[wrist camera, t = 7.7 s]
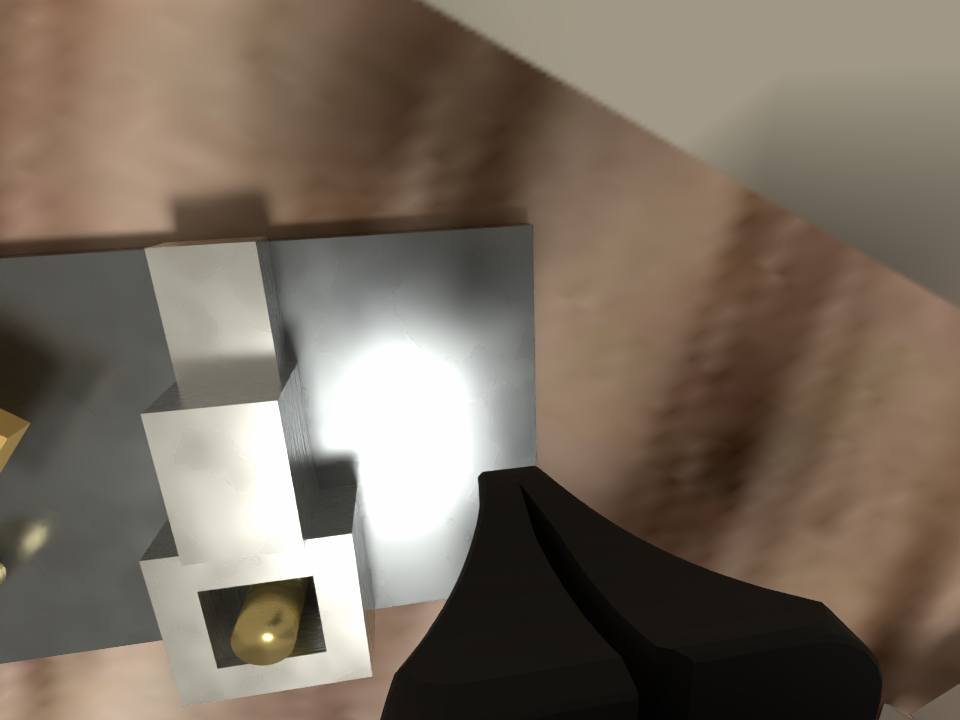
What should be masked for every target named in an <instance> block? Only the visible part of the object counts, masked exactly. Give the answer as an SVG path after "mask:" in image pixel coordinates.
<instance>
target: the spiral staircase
mask: <svg viewBox="0 0 960 720" xmlns="http://www.w3.org/2000/svg"><path fill="white" fill-rule="evenodd" d="M910 715H911V716H912V718H913V719H914V720H960V684H958V685H957V686H955V687H953V688H952V689H950V690H949V691H947V692H945V693H944V694H942V695H941V696H939V697H937V698H936V699H934V700H933V701H931V702H929V703H928V704H926V705H925V706H923V707H922V708H920V709H918V710H917V711H915V712H914V713H912V714H910ZM879 720H912V719H911V718H909V717H908V716H906V715H905V714H903V713H902V712H901V711H899V710H898V709H896V708H895V707H893V706H892V705H889V704H884V705H883V709H882V712H881V715H880V718H879Z"/></svg>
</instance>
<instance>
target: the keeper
mask: <svg viewBox="0 0 960 720" xmlns="http://www.w3.org/2000/svg"><path fill="white" fill-rule="evenodd" d="M29 425H30V422H28V421H25V420H23V419H21V418H19V417H17V416H15V415H13V414H11V413H9V412H7V411H5V410H3V409H1V408H0V473H1V471H2V469H3V468H4V466H5V464H6V463H7V461H8V459H9V458H10V456H11V454H12V453H13V451H14V449H15V448H16V446H17V445H18V443H19V441H20V440H21V438H22V436H23V435H24V433H25V431H26V430H27V428H28V426H29Z"/></svg>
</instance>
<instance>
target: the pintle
mask: <svg viewBox="0 0 960 720" xmlns="http://www.w3.org/2000/svg"><path fill="white" fill-rule="evenodd" d="M309 577H310V576H308V577H301V578H294V579H287V580H279V581H272V582H265V583H257V584H250V586H249V589H248V591H247V594H246V597H245V600H244V603H243V605H242V608H241V611H240V614H239V617H238V619H237V622H236V625H235V628H234V631H233V633H232V636H231V647H232V650H233V652H234V653H235V655H236V656H237V657H238V658H240V659H241V660H243V661H244V662H246V663H249V664H252V665H259V666H266V665H272V664H275V663H278V662H280V661H282V660H284V659H285V658H287V657H288V656H289V655H290V654H291V652H292V651H293V649H294V646H295V642H296V638H297V633H298V628H299V623H300V619H301V614H302V609H303V605H304V600H305V595H306V591H307V586H308V581H309Z"/></svg>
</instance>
